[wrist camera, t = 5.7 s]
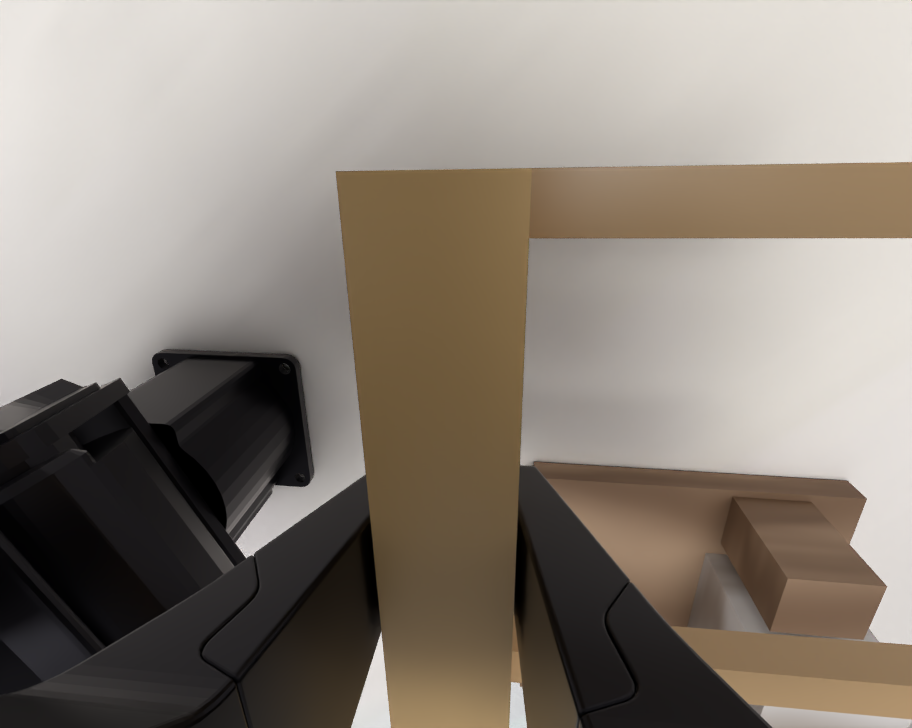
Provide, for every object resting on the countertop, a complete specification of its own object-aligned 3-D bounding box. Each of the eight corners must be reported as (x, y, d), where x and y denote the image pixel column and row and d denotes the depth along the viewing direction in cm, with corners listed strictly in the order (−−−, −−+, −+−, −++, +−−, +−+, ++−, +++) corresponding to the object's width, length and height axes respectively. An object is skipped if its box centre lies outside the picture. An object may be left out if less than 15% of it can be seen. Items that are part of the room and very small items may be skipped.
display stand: (534, 462, 22) (543, 586, 15) (847, 480, 20) (1003, 626, 14) (519, 664, 26) (521, 824, 20) (771, 690, 25) (861, 870, 19)
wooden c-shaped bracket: (404, 170, 8) (335, 170, 5) (1145, 157, 7) (1673, 151, 4) (428, 635, 12) (398, 801, 9) (899, 676, 11) (1055, 881, 8)
